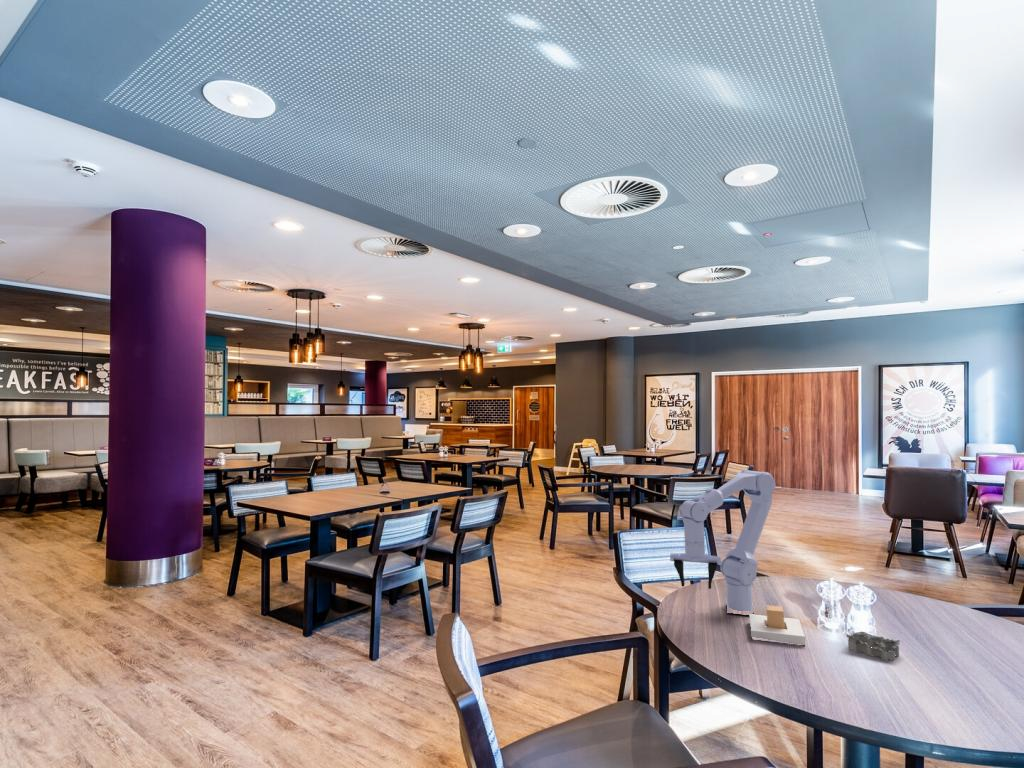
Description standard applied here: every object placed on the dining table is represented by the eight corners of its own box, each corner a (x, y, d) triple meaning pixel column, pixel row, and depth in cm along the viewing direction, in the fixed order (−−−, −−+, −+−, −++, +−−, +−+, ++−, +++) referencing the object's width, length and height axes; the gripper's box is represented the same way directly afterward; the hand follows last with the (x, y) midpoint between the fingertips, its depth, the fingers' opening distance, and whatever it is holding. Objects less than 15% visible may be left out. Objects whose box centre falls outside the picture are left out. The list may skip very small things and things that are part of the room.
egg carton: (844, 650, 143) (843, 634, 143) (856, 642, 147) (855, 626, 147) (892, 664, 134) (891, 646, 134) (903, 655, 139) (902, 638, 139)
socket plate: (749, 622, 161) (749, 614, 162) (799, 628, 157) (798, 619, 157) (751, 639, 149) (751, 630, 149) (805, 646, 145) (804, 636, 145)
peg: (767, 630, 156) (766, 605, 156) (783, 632, 154) (782, 606, 155) (768, 635, 152) (767, 610, 152) (784, 637, 150) (783, 611, 151)
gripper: (668, 542, 166) (670, 588, 165) (719, 545, 161) (721, 592, 160) (670, 537, 172) (672, 581, 172) (720, 540, 167) (722, 585, 166)
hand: (696, 586), depth 166 cm, fingers open, 7 cm apart
